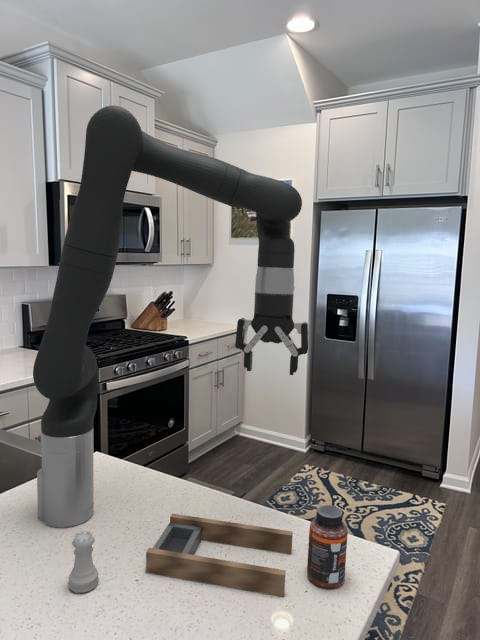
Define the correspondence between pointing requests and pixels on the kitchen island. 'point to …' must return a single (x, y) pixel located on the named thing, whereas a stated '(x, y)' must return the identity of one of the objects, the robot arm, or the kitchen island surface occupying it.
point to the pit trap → (179, 539)
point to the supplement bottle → (327, 547)
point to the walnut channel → (225, 570)
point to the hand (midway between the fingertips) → (270, 372)
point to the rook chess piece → (83, 564)
